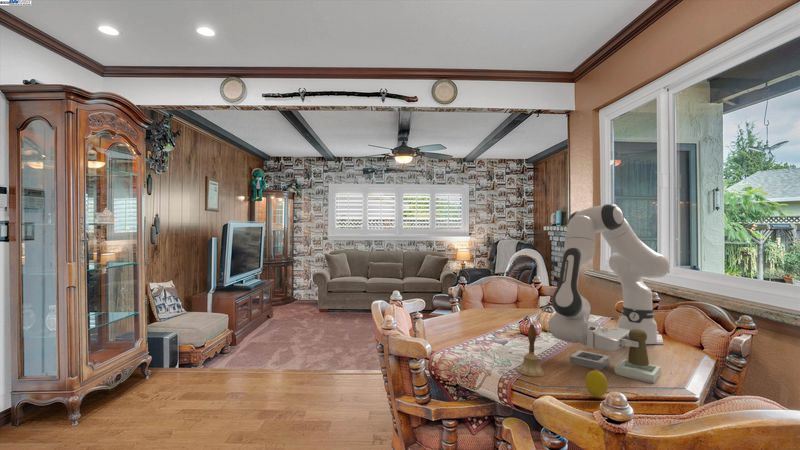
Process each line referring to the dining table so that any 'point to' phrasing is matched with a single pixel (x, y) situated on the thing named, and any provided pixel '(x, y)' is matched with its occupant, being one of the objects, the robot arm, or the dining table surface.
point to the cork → (638, 348)
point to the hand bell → (531, 357)
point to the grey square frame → (590, 360)
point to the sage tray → (638, 371)
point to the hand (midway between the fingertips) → (640, 343)
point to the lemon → (596, 383)
